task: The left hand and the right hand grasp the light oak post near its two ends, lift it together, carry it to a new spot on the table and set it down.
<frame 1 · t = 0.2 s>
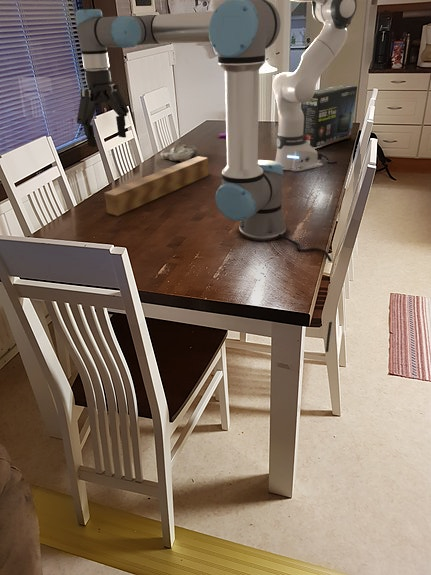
left hand: (107, 141, 148), 27 cm above the table, tool pointing down, fingers open, 13 cm apart
right hand: (222, 55, 179), 48 cm above the table, tool pointing down, fingers open, 8 cm apart
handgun: (229, 139, 259), on the table
router box: (325, 143, 245), on the table
fossil: (178, 158, 230), on the table
post: (162, 192, 187), on the table
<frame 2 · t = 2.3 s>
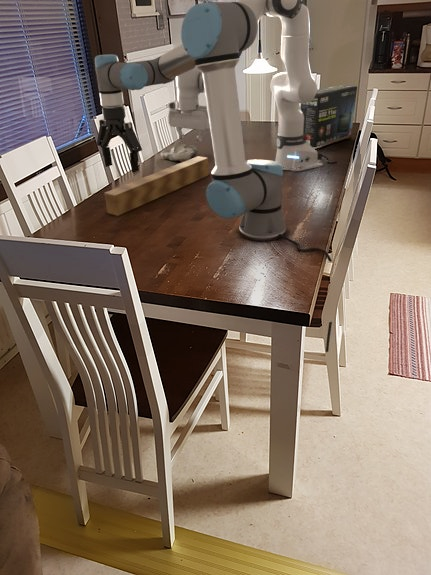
left hand: (121, 168, 165), 15 cm above the table, tool pointing down, fingers open, 13 cm apart
right hand: (190, 139, 192), 17 cm above the table, tool pointing down, fingers open, 8 cm apart
nothing on the table moved.
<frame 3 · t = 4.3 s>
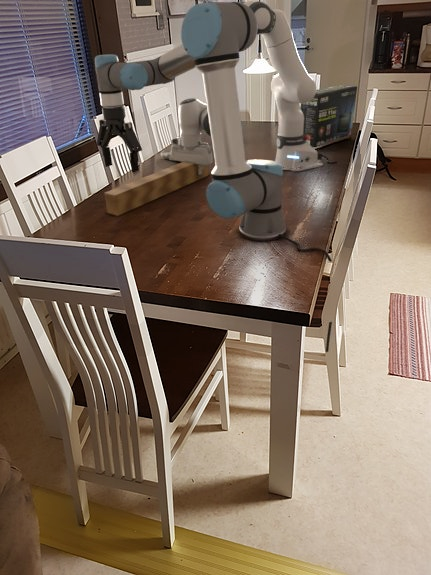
left hand: (121, 168, 165), 15 cm above the table, tool pointing down, fingers open, 13 cm apart
right hand: (192, 173, 199), 3 cm above the table, tool pointing down, fingers closed on post, 5 cm apart
post: (162, 192, 187), on the table, touching right hand
everything else where it was.
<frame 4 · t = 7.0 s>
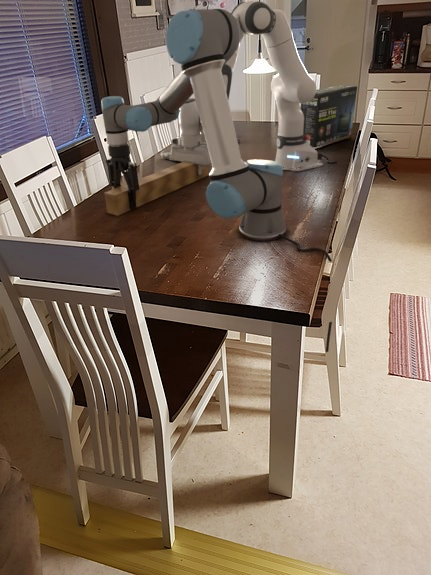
left hand: (127, 206, 173), 1 cm above the table, tool pointing down, fingers closed on post, 6 cm apart
right hand: (192, 172, 199), 3 cm above the table, tool pointing down, fingers closed on post, 5 cm apart
post: (162, 192, 187), on the table, touching left hand, right hand
everything else where it was.
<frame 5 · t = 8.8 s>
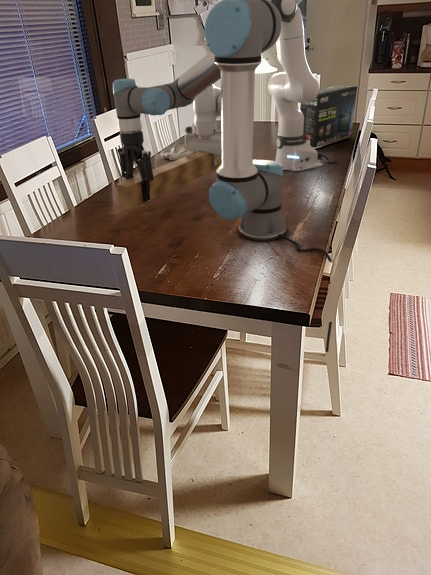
left hand: (140, 198, 161), 7 cm above the table, tool pointing down, fingers closed on post, 6 cm apart
right hand: (207, 163, 188), 9 cm above the table, tool pointing down, fingers closed on post, 5 cm apart
post: (177, 183, 175), point 6 cm above the table, touching left hand, right hand
everything else where it was.
when the left hand's fingers open (2 cm above the table, at t = 11.0 s): post drops 2 cm, on the table.
when the right hand's fingers open (4 cm above the table, at t = 11.1 s): post drops 2 cm, on the table.
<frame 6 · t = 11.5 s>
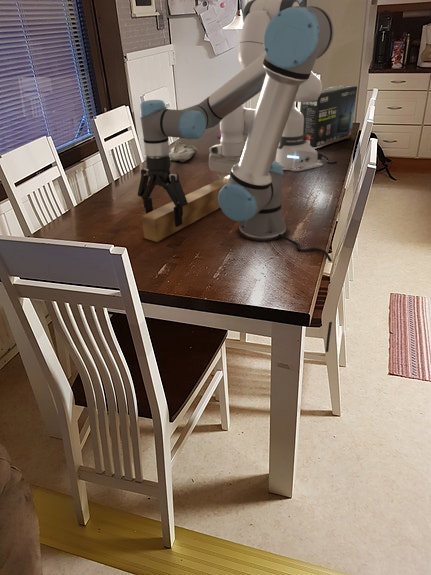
left hand: (164, 221, 150), 4 cm above the table, tool pointing down, fingers open, 12 cm apart
right hand: (233, 185, 177), 4 cm above the table, tool pointing down, fingers open, 8 cm apart
post: (202, 212, 166), on the table
everything else where it was.
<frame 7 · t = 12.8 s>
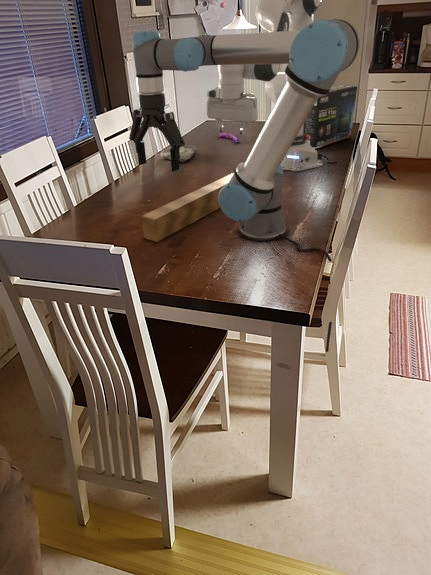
left hand: (158, 167, 141), 22 cm above the table, tool pointing down, fingers open, 13 cm apart
right hand: (232, 132, 167), 24 cm above the table, tool pointing down, fingers open, 8 cm apart
nothing on the table moved.
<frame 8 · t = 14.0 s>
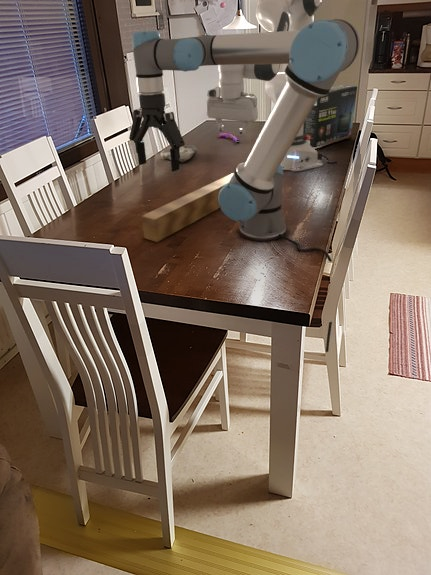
left hand: (158, 167, 141), 22 cm above the table, tool pointing down, fingers open, 13 cm apart
right hand: (231, 132, 167), 24 cm above the table, tool pointing down, fingers open, 8 cm apart
nothing on the table moved.
at the end: post inside the target area (0.3 cm from its centre), on the table; post tilted 0°; post never tilted more than 1° during the clip; both hands held the post at the same time; the left hand is holding nothing; the right hand is holding nothing; post at rest at the end (0.0 cm/s) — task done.
